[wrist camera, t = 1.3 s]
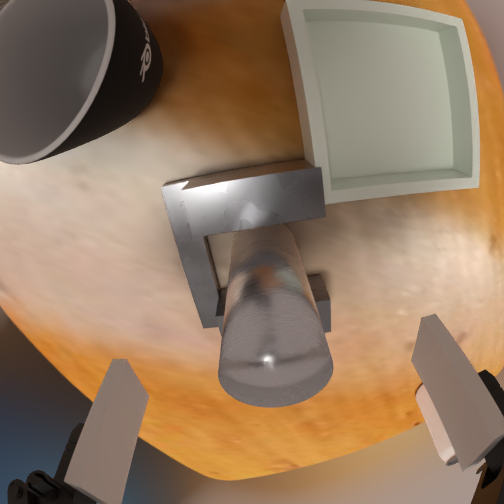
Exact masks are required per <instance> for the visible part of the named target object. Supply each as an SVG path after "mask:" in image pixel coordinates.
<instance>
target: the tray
mask: <svg viewBox="0 0 504 504" xmlns="http://www.w3.org/2000/svg"><path fill="white" fill-rule="evenodd" d="M280 19H281V23H282V28H283V32H284V37H285V42H286V47H287V52H288V57H289V62H290V67H291V73H292V78H293V84H294V90H295V95H296V101H297V107H298V114H299V120H300V127H301V134H302V141H303V148H304V155H305V159H306V160H307V161H308V162H309V163H311V164H312V165H313V166H314V167H321V169H322V179H323V189H324V199H325V205H327V204H334V203H341V202H349V201H357V200H365V199H373V198H381V197H390V196H398V195H407V194H417V193H426V192H436V191H447V190H457V189H469V188H479V174H480V134H479V116H478V103H477V94H476V86H475V78H474V72H473V66H472V60H471V55H470V50H469V45H468V40H467V36H466V32H465V28H464V24H463V20H462V19H460V18H456V17H453V16H449V15H446V14H442V13H438V12H434V11H430V10H425V9H421V8H416V7H411V6H405V5H399V4H393V3H386V2H378V1H369V0H285V2H284V5H283V8H282V11H281V14H280Z"/></svg>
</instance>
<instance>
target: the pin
mask: <svg viewBox="0 0 504 504" xmlns="http://www.w3.org/2000/svg"><path fill="white" fill-rule="evenodd" d="M332 373H333V361H332V357H331V354H330V350H329V347H328V343H327V340H326V337H325V333H324V330H323V327H322V323H321V320H320V317H319V313H318V310H317V307H316V304H315V301H314V297H313V294H312V291H311V288H310V285H309V282H308V278H307V275H306V272H305V269H304V266H303V263H302V260H301V257H300V254H299V251H298V248H297V245H296V242H295V239H294V236H293V234H292V232H291V231H290V229H289V228H288V227H287V226H286V225H285V224H276V225H270V226H263V227H257V228H251V229H244V230H238V231H237V233H236V235H235V237H234V240H233V246H232V254H231V263H230V271H229V279H228V288H227V297H226V305H225V314H224V323H223V332H222V341H221V351H220V360H219V370H218V378H219V381H220V384H221V386H222V387H223V389H224V390H225V391H226V392H227V393H228V394H229V395H230V396H232V397H233V398H235V399H236V400H238V401H241V402H243V403H246V404H249V405H253V406H258V407H283V406H289V405H293V404H297V403H300V402H302V401H305V400H307V399H309V398H311V397H312V396H314V395H315V394H317V393H318V392H319V391H321V390H322V389H323V388H324V387H325V386H326V384H327V383H328V382H329V380H330V378H331V376H332Z"/></svg>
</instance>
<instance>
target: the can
mask: <svg viewBox="0 0 504 504" xmlns="http://www.w3.org/2000/svg"><path fill="white" fill-rule="evenodd" d="M416 400H417V403H418V405H419V408H420V410H421V412H422V415H423V417H424V419H425V422H426V424H427V427H428V429H429V431H430V434H431V436H432V439H433V441H434V444H435V446H436V449H437V451H438V454H439V456H440V458H441V459H443V460H444V461H445V462H446V465H447V466H450V465H453V464H456V463H458V462H459V461H458V459H457V456H456V454H455V451H454V449H453V447H452V444H451V442H450V440H449V437H448V435H447V433H446V431H445V428H444V426H443V424H442V422H441V419H440V417H439V415H438V413H437V411H436V409H435V407H434V405H433V402H432V400H431V398H430V396H429V394H428V392H427V390H426V388H425V386H424V384H423V383H422V384H421V386H420V387H419V388H418V390H417V393H416Z"/></svg>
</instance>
